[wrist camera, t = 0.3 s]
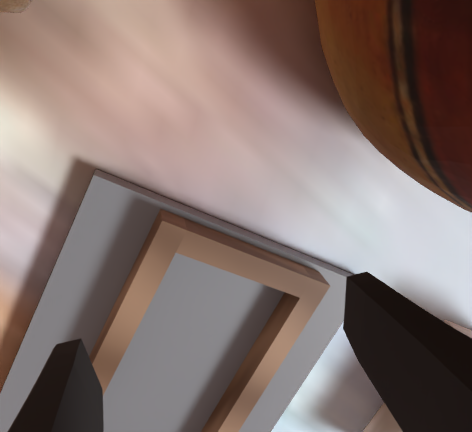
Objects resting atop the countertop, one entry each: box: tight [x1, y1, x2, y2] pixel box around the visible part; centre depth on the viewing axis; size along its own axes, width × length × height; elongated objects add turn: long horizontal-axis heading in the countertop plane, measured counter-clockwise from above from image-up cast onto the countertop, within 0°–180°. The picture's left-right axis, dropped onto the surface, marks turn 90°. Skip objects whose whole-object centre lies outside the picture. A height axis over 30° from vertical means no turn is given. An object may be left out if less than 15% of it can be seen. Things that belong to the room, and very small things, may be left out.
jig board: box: [0, 169, 354, 432], centre depth 23 cm, size 18×16×2 cm
